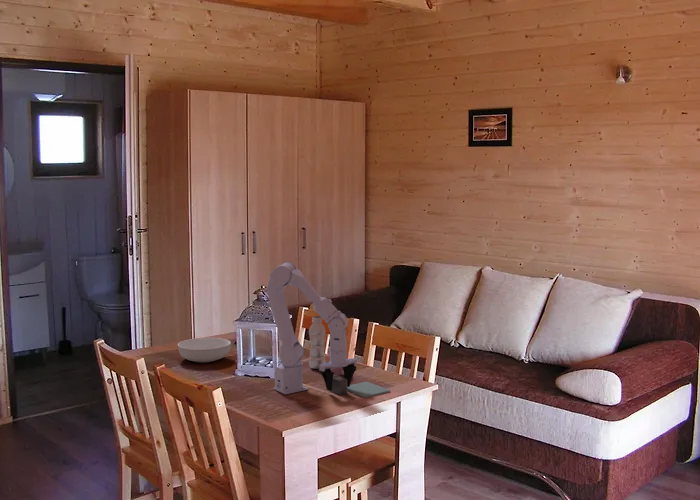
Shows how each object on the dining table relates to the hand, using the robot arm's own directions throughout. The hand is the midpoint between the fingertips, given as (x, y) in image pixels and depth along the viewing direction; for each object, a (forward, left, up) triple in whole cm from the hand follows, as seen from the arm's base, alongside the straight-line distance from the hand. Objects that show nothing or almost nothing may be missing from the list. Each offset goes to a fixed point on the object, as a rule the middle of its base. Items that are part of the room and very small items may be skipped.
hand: (338, 388), depth 266 cm
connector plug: (0, +1, -1) cm, 2 cm away
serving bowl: (-18, +66, -2) cm, 68 cm away
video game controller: (+11, +15, -2) cm, 19 cm away
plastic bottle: (+11, +29, -2) cm, 31 cm away
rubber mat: (+9, -4, -1) cm, 10 cm away
